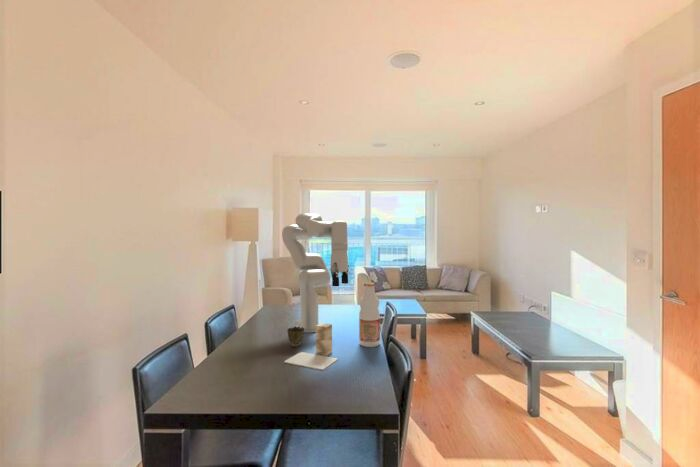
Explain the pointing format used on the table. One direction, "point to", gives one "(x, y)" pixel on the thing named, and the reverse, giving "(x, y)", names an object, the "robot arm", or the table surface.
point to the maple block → (323, 339)
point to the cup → (295, 335)
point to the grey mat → (311, 360)
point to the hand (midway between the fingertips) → (340, 284)
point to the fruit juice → (369, 317)
